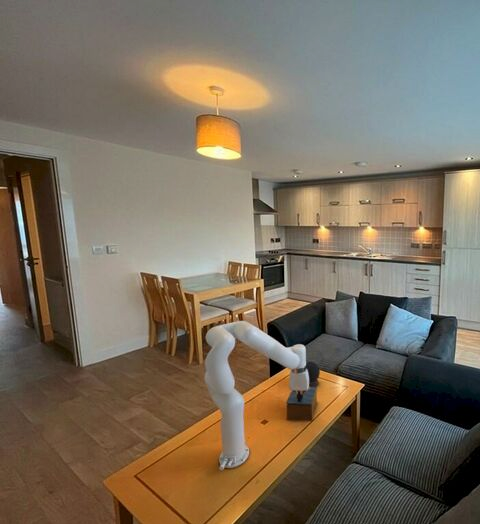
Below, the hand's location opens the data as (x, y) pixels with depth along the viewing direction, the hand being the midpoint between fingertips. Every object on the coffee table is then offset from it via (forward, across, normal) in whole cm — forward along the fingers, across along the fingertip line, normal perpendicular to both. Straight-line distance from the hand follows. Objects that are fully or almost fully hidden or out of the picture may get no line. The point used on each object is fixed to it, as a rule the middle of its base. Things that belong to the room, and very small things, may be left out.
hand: (300, 399), depth 153 cm
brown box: (+11, 0, +6) cm, 12 cm away
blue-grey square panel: (+1, 0, +5) cm, 6 cm away
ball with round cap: (+11, -1, +32) cm, 34 cm away
